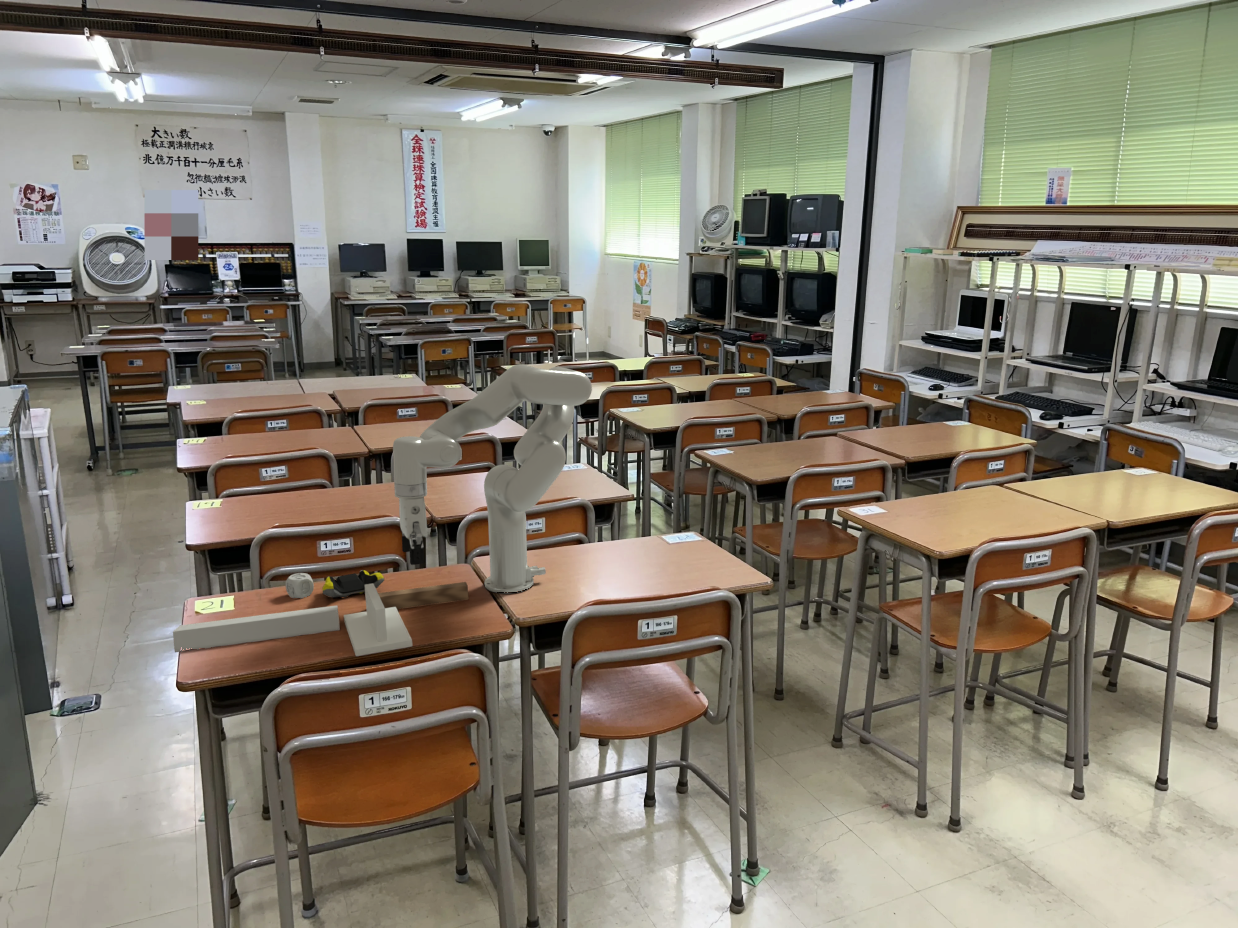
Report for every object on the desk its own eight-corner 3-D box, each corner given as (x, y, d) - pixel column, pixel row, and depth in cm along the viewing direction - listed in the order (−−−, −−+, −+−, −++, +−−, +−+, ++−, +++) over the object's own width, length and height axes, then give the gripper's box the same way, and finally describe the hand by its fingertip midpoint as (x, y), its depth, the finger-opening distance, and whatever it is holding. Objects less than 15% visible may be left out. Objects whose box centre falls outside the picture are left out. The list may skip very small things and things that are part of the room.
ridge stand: (396, 612, 211) (393, 577, 209) (412, 646, 193) (410, 607, 191) (344, 620, 206) (341, 584, 204) (355, 656, 188) (352, 617, 186)
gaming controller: (387, 594, 222) (375, 581, 231) (385, 573, 221) (374, 562, 229) (326, 606, 215) (316, 593, 223) (324, 585, 213) (314, 572, 222)
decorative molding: (181, 646, 200) (174, 653, 190) (180, 625, 200) (172, 631, 190) (339, 625, 211) (339, 631, 201) (337, 605, 211) (338, 610, 201)
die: (304, 589, 225) (302, 571, 224) (314, 594, 222) (313, 576, 221) (286, 595, 222) (284, 576, 220) (296, 600, 218) (294, 581, 217)
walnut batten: (466, 596, 221) (465, 581, 220) (468, 600, 219) (467, 585, 218) (367, 609, 213) (366, 594, 212) (368, 614, 211) (367, 598, 210)
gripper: (434, 496, 203) (436, 567, 206) (419, 479, 218) (421, 545, 222) (401, 499, 200) (404, 570, 203) (388, 481, 215) (390, 548, 219)
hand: (413, 557), depth 213 cm, fingers open, 9 cm apart
